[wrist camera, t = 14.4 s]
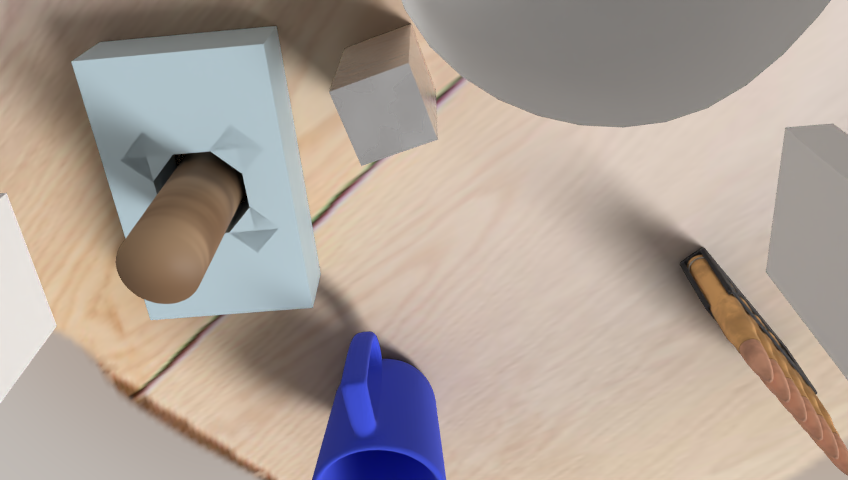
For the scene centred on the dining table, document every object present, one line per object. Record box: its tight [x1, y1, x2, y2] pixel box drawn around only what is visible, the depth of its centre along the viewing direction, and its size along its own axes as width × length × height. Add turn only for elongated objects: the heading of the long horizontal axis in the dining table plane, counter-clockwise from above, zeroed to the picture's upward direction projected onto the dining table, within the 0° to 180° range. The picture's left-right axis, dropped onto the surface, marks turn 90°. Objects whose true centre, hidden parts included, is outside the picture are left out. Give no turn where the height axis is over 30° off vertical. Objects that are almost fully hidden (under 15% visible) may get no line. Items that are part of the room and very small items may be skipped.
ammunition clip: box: [680, 248, 848, 475], centre depth 47 cm, size 11×2×12 cm, turn 42°
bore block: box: [71, 26, 321, 320], centre depth 45 cm, size 16×10×4 cm, turn 5°
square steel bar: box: [329, 24, 438, 166], centre depth 41 cm, size 4×4×8 cm
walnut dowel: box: [116, 151, 246, 304], centre depth 42 cm, size 4×4×12 cm
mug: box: [312, 332, 446, 480], centre depth 50 cm, size 8×12×10 cm
